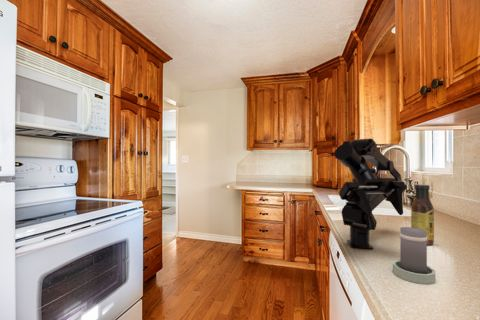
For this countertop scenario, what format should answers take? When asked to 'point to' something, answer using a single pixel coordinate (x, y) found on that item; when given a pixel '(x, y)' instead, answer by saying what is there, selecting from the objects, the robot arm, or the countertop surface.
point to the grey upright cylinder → (413, 250)
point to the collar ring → (414, 274)
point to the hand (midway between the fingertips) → (386, 214)
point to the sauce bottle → (423, 212)
